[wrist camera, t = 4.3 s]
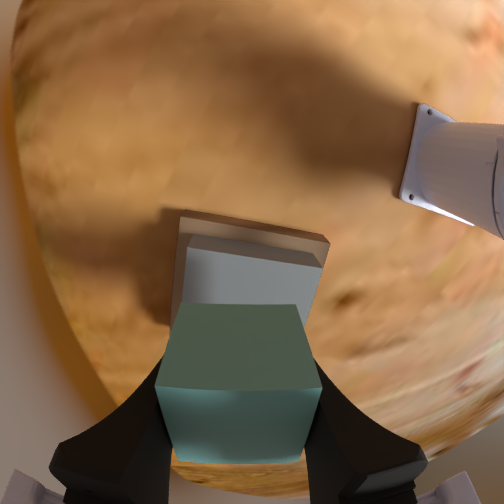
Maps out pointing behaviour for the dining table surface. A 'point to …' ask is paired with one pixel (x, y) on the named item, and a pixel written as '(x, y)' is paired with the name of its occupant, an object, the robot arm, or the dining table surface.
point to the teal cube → (238, 384)
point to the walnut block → (240, 232)
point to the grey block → (249, 274)
